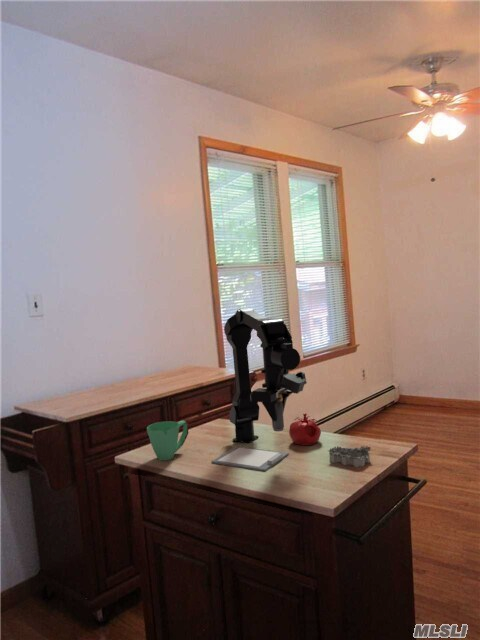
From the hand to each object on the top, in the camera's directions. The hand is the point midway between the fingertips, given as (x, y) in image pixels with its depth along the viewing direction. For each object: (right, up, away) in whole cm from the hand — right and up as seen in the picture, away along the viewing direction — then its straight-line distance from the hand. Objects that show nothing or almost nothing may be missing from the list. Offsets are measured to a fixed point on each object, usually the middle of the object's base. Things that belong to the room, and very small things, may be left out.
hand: (277, 419), depth 139 cm
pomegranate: (+10, -11, +17) cm, 23 cm away
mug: (-32, -14, +14) cm, 38 cm away
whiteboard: (-8, -13, +6) cm, 16 cm away
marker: (0, -3, 0) cm, 3 cm away
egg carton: (+20, -12, -2) cm, 23 cm away
